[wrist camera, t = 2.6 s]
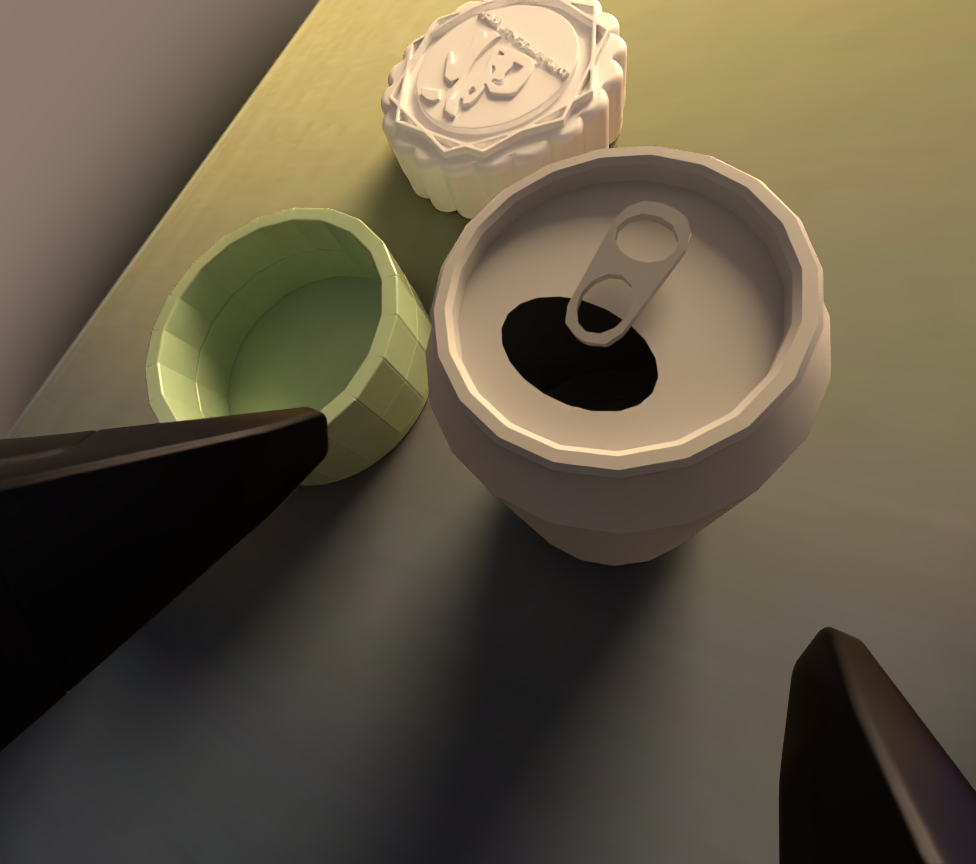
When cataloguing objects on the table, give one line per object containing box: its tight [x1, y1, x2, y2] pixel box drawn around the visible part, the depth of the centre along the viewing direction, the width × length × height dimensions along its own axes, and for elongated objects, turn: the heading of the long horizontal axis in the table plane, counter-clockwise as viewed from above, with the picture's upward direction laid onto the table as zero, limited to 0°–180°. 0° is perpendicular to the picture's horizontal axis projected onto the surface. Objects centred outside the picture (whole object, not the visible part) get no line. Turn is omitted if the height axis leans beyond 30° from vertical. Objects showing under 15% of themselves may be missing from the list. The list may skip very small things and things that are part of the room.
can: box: [425, 146, 831, 566], centre depth 13 cm, size 8×8×12 cm
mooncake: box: [381, 0, 627, 219], centre depth 24 cm, size 12×12×4 cm
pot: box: [145, 208, 431, 486], centre depth 21 cm, size 11×11×4 cm
